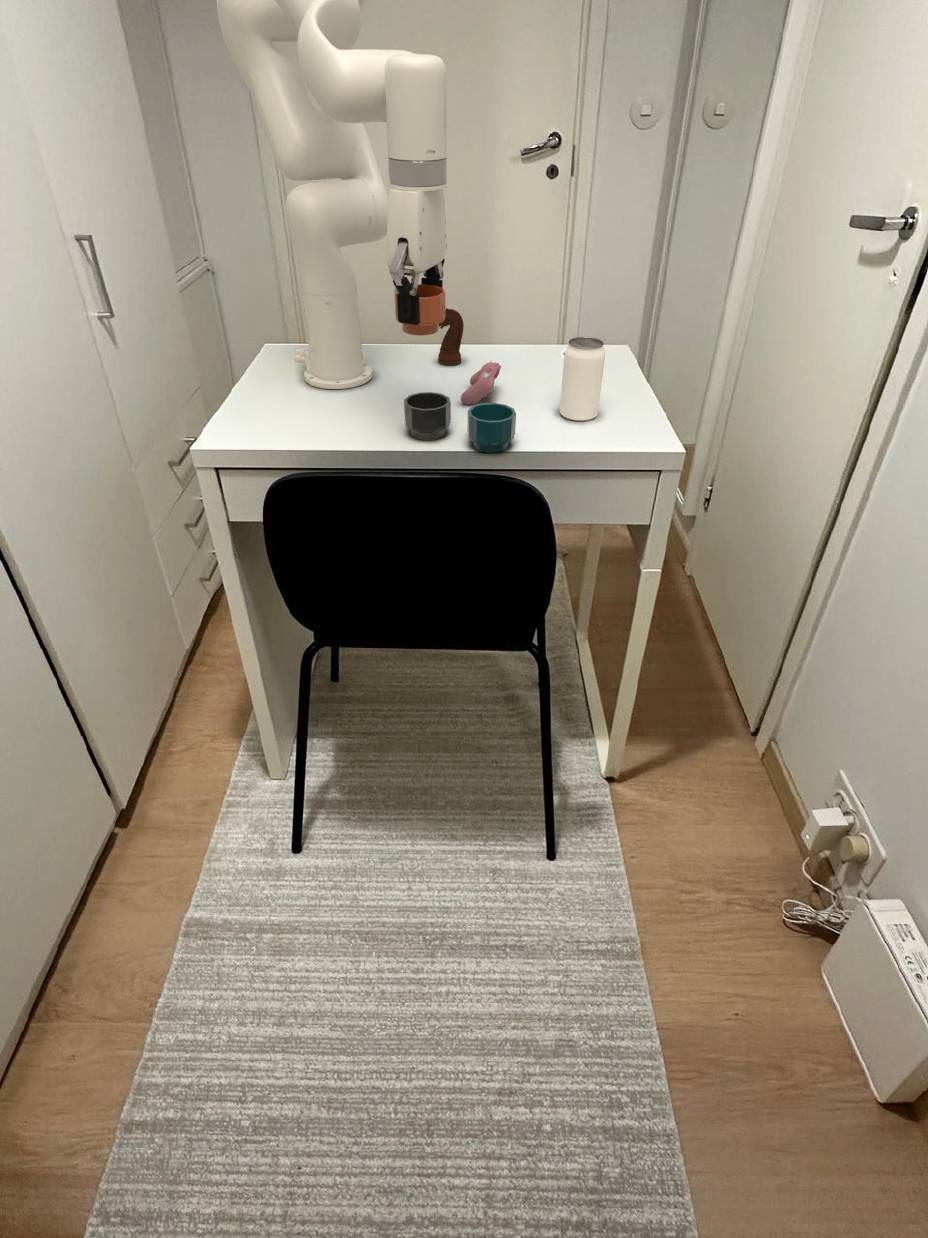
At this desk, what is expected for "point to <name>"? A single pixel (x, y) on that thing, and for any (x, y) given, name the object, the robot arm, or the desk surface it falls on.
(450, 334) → the chess piece
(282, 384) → the desk surface
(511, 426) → the top bowl
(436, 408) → the bottom bowl
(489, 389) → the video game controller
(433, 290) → the middle bowl
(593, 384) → the can
